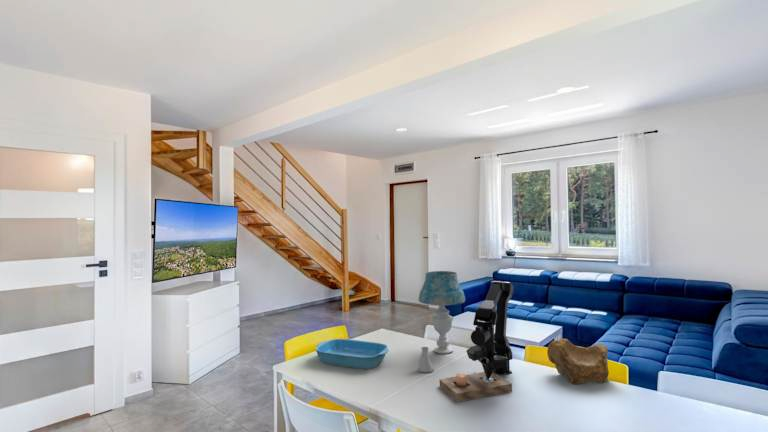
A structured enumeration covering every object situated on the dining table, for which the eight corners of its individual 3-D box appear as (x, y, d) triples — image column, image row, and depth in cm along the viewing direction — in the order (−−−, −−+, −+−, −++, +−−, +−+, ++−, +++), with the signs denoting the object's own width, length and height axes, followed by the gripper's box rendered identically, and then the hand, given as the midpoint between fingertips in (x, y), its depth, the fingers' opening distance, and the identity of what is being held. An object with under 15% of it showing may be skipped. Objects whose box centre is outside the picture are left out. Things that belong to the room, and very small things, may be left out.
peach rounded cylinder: (463, 381, 151) (463, 373, 151) (469, 385, 147) (469, 377, 147) (453, 382, 149) (453, 374, 149) (459, 387, 145) (459, 378, 145)
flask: (433, 373, 166) (432, 350, 166) (416, 372, 168) (415, 350, 168) (434, 367, 173) (433, 345, 173) (418, 366, 175) (417, 344, 175)
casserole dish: (395, 357, 188) (395, 343, 188) (378, 374, 167) (377, 358, 167) (330, 350, 202) (330, 336, 202) (306, 364, 181) (306, 349, 181)
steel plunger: (489, 383, 154) (489, 375, 154) (496, 387, 150) (496, 379, 150) (480, 384, 153) (480, 376, 153) (486, 389, 149) (486, 380, 149)
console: (491, 377, 160) (490, 370, 160) (512, 391, 147) (511, 383, 147) (439, 386, 153) (439, 379, 153) (456, 401, 139) (456, 393, 139)
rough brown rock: (549, 386, 152) (550, 350, 151) (546, 368, 168) (546, 335, 167) (616, 395, 145) (617, 357, 144) (606, 375, 160) (606, 340, 159)
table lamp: (410, 351, 196) (408, 273, 197) (439, 340, 212) (437, 269, 213) (447, 362, 178) (445, 277, 179) (476, 350, 195) (473, 272, 196)
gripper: (457, 334, 158) (458, 372, 158) (482, 348, 141) (483, 390, 140) (480, 331, 162) (481, 368, 162) (507, 344, 144) (509, 386, 144)
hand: (488, 377), depth 152 cm, fingers closed, pressing on steel plunger
